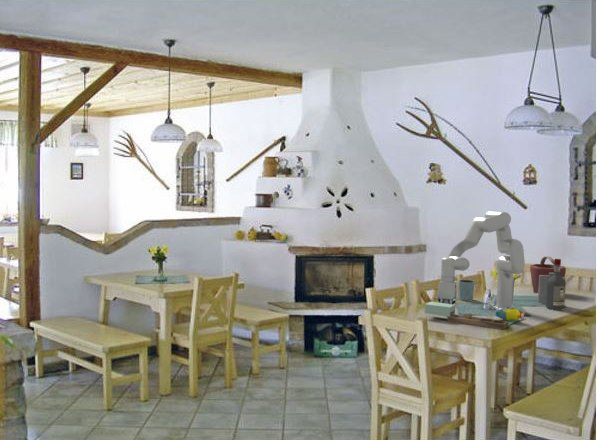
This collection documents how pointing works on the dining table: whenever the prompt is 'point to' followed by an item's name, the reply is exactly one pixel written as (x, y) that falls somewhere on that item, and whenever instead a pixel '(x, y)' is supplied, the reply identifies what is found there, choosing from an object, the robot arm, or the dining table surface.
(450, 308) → the cover
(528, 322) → the dining table surface
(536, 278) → the bucket
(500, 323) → the pin board
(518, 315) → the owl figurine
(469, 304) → the dining table surface
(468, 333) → the dining table surface
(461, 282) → the drinking glass
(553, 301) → the liquor
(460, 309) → the dining table surface
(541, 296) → the hip flask
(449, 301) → the pin
